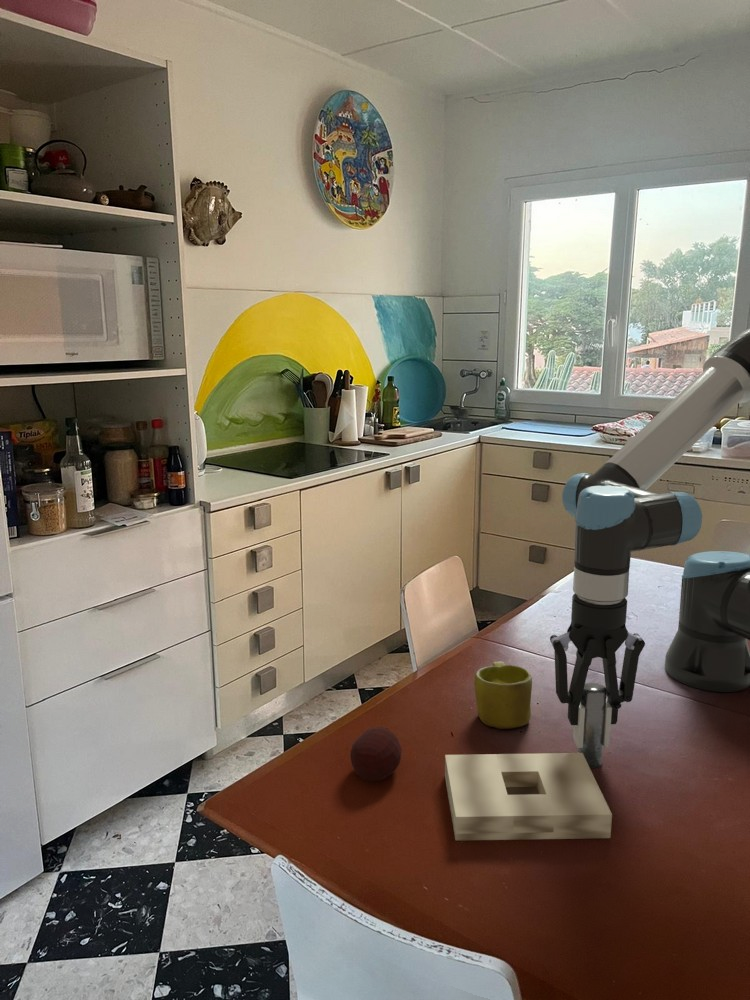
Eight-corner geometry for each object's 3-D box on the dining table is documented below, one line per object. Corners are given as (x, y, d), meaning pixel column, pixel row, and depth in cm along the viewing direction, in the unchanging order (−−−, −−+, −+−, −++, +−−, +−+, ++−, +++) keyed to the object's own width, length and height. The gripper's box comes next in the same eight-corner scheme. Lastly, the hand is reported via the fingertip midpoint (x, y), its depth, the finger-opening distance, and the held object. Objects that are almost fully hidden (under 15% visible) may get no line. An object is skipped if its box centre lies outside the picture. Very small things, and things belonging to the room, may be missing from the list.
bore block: (581, 774, 112) (582, 752, 112) (610, 838, 99) (612, 814, 98) (444, 776, 112) (445, 754, 111) (455, 840, 99) (455, 816, 98)
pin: (597, 753, 117) (602, 682, 114) (605, 767, 114) (610, 694, 111) (573, 754, 117) (578, 683, 114) (581, 768, 114) (585, 695, 111)
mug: (542, 729, 121) (524, 668, 121) (479, 741, 123) (462, 681, 124) (545, 706, 133) (529, 650, 133) (488, 717, 135) (473, 662, 136)
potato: (341, 785, 111) (340, 747, 109) (366, 748, 120) (365, 712, 118) (389, 795, 108) (388, 756, 107) (410, 757, 117) (410, 720, 116)
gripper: (647, 584, 113) (636, 728, 118) (536, 586, 112) (531, 730, 118) (667, 604, 105) (654, 755, 111) (548, 606, 105) (542, 757, 111)
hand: (590, 742), depth 115 cm, fingers closed on pin, 3 cm apart
